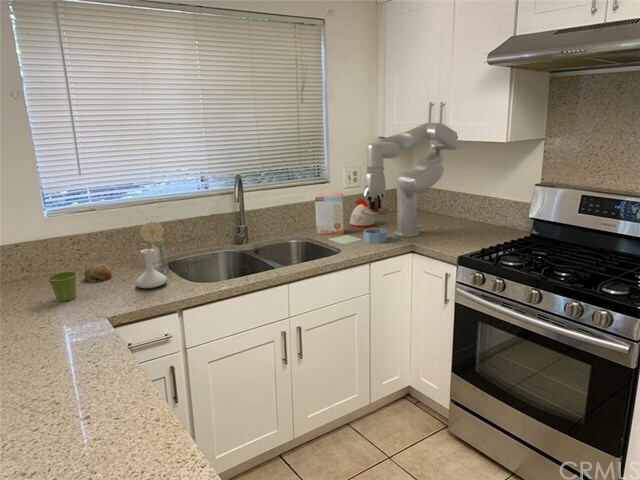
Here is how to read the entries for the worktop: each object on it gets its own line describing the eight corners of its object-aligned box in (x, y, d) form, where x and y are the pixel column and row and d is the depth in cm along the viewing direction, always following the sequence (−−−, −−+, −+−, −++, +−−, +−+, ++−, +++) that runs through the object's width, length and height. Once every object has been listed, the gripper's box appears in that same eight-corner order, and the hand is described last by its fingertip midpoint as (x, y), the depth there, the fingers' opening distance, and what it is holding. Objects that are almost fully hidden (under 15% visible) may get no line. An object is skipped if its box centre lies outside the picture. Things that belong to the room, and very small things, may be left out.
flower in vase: (130, 290, 177) (120, 225, 170) (145, 280, 187) (136, 217, 181) (163, 291, 175) (155, 225, 168) (176, 280, 186) (169, 217, 179)
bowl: (376, 236, 239) (376, 227, 238) (391, 241, 230) (391, 231, 229) (359, 240, 233) (359, 230, 232) (374, 245, 224) (374, 235, 223)
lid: (376, 208, 236) (376, 194, 235) (394, 212, 226) (394, 198, 224) (355, 212, 229) (355, 198, 228) (373, 216, 219) (373, 201, 217)
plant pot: (69, 304, 166) (65, 280, 163) (45, 303, 167) (40, 279, 165) (86, 294, 175) (82, 271, 172) (63, 293, 176) (59, 271, 174)
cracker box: (344, 232, 250) (343, 192, 244) (343, 235, 244) (342, 194, 239) (317, 232, 251) (316, 193, 246) (316, 235, 246) (314, 195, 240)
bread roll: (85, 291, 188) (81, 276, 183) (87, 273, 196) (83, 258, 191) (112, 287, 191) (108, 273, 186) (113, 270, 198) (110, 255, 193)
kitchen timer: (359, 221, 273) (359, 195, 269) (379, 224, 264) (379, 197, 260) (344, 226, 263) (344, 199, 259) (365, 229, 254) (364, 201, 250)
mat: (347, 235, 243) (347, 234, 243) (362, 240, 233) (362, 239, 233) (328, 239, 236) (328, 239, 236) (342, 244, 227) (342, 244, 227)
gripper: (382, 168, 230) (382, 205, 235) (356, 171, 221) (356, 210, 226) (393, 169, 224) (393, 207, 229) (366, 172, 215) (367, 212, 220)
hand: (375, 208), depth 227 cm, fingers closed on lid, 3 cm apart
